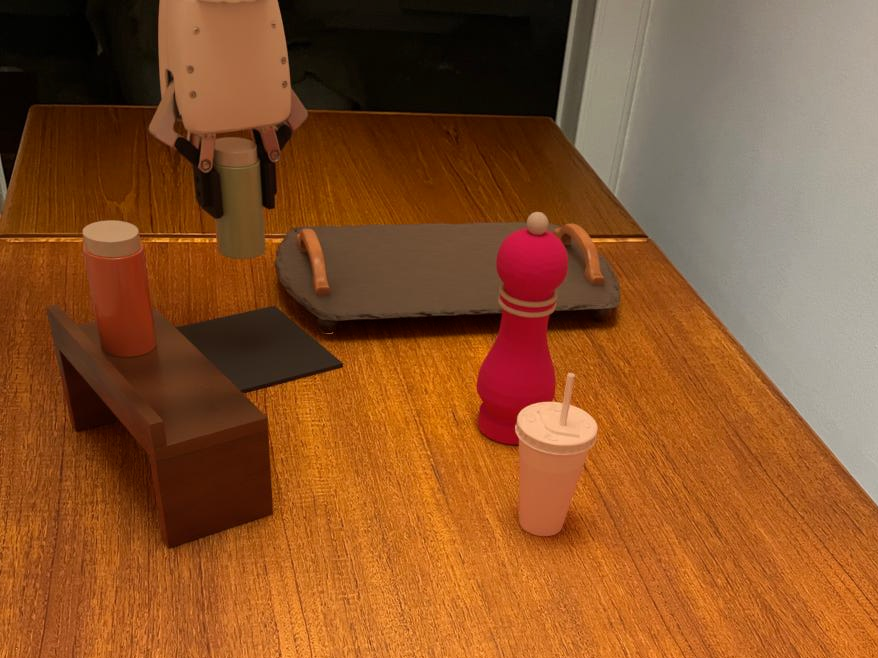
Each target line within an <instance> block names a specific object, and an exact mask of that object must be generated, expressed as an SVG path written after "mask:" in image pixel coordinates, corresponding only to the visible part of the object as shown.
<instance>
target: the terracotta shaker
mask: <svg viewBox="0 0 878 658" xmlns="http://www.w3.org/2000/svg"><path fill="white" fill-rule="evenodd" d="M82 237H83V245H82V253H83V259H84V265H85V269H86V274H87V275H86V276H87V280H88V281H87V282H88V286H89V292H90V297H91V302H92V308H93V314H94V318H95V320H94V321H96V325H97V331H98V336H99V342H100V347H101V349H102V350H103V351H104V352H106V353H108V354H110V355H113V356H118V357H136V356H141V355H144V354H147V353H149V352H151V351H152V350H153V349H154V348H155V347H156V345H157V340H156V332H155V325H154V318H153V311H152V309H153V304H152V296H151V289H150V281H149V275H148V268H147V260H146V253H145V246H144V244H143V242H142V241H141V238H140V230H139V228H138V227H137V226H136V225H135V224H133V223H131V222H128V221H123V220H115V219H114V220H109V219H108V220H100V221H95V222H92V223H89V224H87V225H86V226H84V227H83V229H82Z"/></svg>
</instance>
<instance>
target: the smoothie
mask: <svg viewBox="0 0 878 658" xmlns="http://www.w3.org/2000/svg"><path fill="white" fill-rule="evenodd" d="M575 376H576V374H575V373H573V372H568V373H567V375H566V380H565V387H564V392H563V397H562V398H563V399H562V402H558V401H552V402H541V403H535V404H532V405H529V406H527V407H525V408H524V409H523V410H521V411H520V413H519V414H518V417H517V423H516V426H515V431H516V434H517V436H518V438H519V445H518V523H519V526H520V527H521V529H523V530H524V531H525V532H527V533H528V534H531V535H534V536H537V537H550V536H555V535H556V534H558V533H559V532H560V531H561V530H562V529H563V527H564V524H565V520H566V517H567V515H568V512H569V509H570V506H571V503H572V500H573V497H574V494H575V492H576V489H577V486H578V483H579V480H580V478H581V475H582V471H583V469H584V465H585V463H586V460H587V457H588V454H589V450H591V449H592V448H593V447H594V445H596V443H597V438H598V437H597V434H598V428H599V427H598V423H597V422H596V420H595V419H594V417H593V416H592V415H591V414H589V413H588V412H587V411H585V410H584V409H582V408H580V407H578V406H575V405H572V404H571V400H572V395H573V394H572V393H573V390H574V384H575V383H574V382H575Z"/></svg>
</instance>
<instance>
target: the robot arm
mask: <svg viewBox="0 0 878 658" xmlns="http://www.w3.org/2000/svg"><path fill="white" fill-rule="evenodd" d="M279 5H280V4H279V1H278V0H159V5H158V25H157V26H158V27H157V28H158V30H157V31H158V35H157V36H158V38H157V39H158V41H157V42H158V44H157V45H158V47H157V48H158V70H159V85H160V95H161V100H160V102H159V104H158V106H157V109H156V111H155V113H154V115H153V117H152V119H151V121H150V123H149V126H148V132H149V134H150V135H151V136H152V137H153V138H155V139H157V140H159V141H160V142H162V143H163V144H165V145H167V146H168V147H170V148H172V149H174V150H175V151H176V152H177V153H178V154H179V155H180V156H182V157H183V158H184V159H185V160H186V161H187V162H189V163H190V164H191V165H192V174H193V185H194V192H195V193H194V194H195V200H196V202H197V204H198V206H200V208H201V209H202V210H203V211H204V212H206V213H207V214H208V215H209V216H211V217H212V218H213V219H214V218H215V219H218V218H221V217H222V216H223V206H222V195H221V184H220V175H219V173H218V172H217V171H216V170H215V169H214V168H213V158H214V149H215V140H216V139H217V134H224V133H233V132H240V131H246V130H249V134H250V137H251V141H253V142H254V143H255V144H256V145H257V157H258V158H259V159H260V167H261V183H262V199H263V208H265V209H267V210H273V209H274V210H275V208H276V200H275V198H276V197H275V196H276V195H277V194H278V185H277V183H278V182H277V167H276V166H277V165H276V163H277V162H279V161H280V159H281V158H282V157H281V156H282V153H281V152H282V151H283V149H284V148H285V146H286V145H287V143H288V142H289V141H290V139H291V138H292V136H293V132H296V130H298V129H299V128H300V126H301V125H302V124H303V123H304V122H305V121H306V120H307V119H308V117H309V112H308V110H307V108H305V106H304V104H303V103H302V102H301V100H300V98H299V97H298V96H297V93H296V92H295V91H294V90H293V88H292V86H291V74H290V64H289V55H288V47H287V40H286V35H285V29H284V28H285V27H284V24H283V19H282V14H281V10H280V6H279ZM176 122H182V125H183V128H184V129H185V131H187V135H186V137H184V136H183V135H181V134H180V133H178V132H176V130H175V127H174V126H175V124H176Z"/></svg>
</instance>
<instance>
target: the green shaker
mask: <svg viewBox="0 0 878 658" xmlns="http://www.w3.org/2000/svg"><path fill="white" fill-rule="evenodd" d="M213 168H214V169H215V170H216V171H217V172H218V173H219V175H220V184H221V195H222V206H223V216H222V217H221V218H218V219H215V218H213V220H214V230H215V231H214V232H215V240H216V241H215V242H216V250H217V251H218V253H219V255H221V256H223V257H225V258H228V259H233V260H251V259H252V260H253V259H256V258H259V257H261V256H263V255H264V254H265V253H266V250H267V249H266V247H267V246H266V232H265V231H266V230H265V217H264V206H263V199H262V183H261V167H260V159H259V158H258V157H257V145H256V144H255V143H254V142H253V141H252V139H251V140H250V139H248V138H243V137H237V136H236V137H235V136H228V137H227V136H226V137H220V138H219V137H218V138H216V140H215V149H214V158H213Z"/></svg>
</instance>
